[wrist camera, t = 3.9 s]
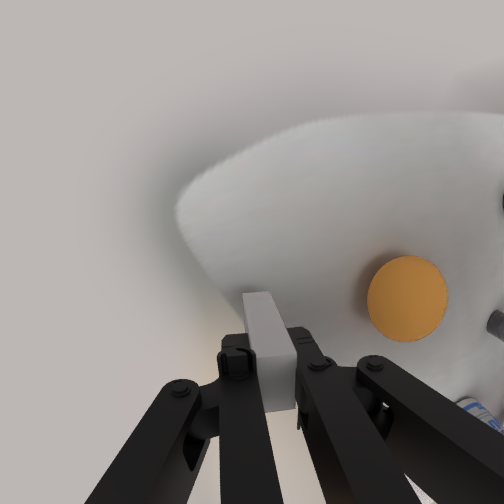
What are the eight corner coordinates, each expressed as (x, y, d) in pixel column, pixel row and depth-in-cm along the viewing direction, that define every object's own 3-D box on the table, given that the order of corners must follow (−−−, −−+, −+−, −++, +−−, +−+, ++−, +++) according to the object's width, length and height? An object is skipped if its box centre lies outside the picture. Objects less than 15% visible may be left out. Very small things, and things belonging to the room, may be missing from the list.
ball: (411, 314, 19) (454, 345, 14) (351, 326, 19) (387, 367, 14) (418, 245, 18) (469, 262, 13) (355, 251, 18) (400, 273, 12)
